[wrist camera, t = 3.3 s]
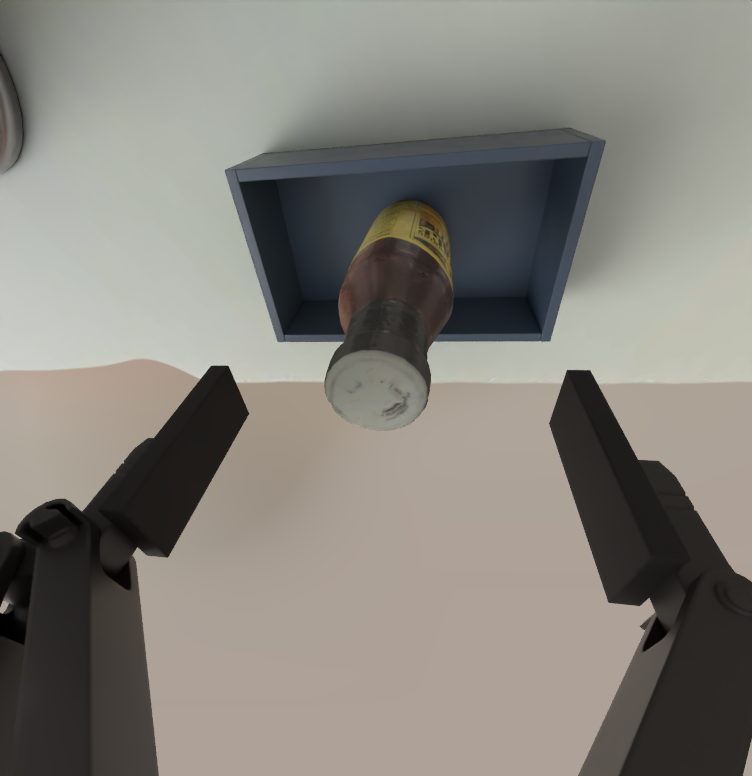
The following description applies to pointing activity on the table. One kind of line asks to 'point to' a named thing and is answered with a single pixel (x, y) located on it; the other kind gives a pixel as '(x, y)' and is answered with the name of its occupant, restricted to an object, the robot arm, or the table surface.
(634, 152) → the table surface
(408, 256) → the sauce bottle
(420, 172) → the open storage box
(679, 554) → the robot arm
